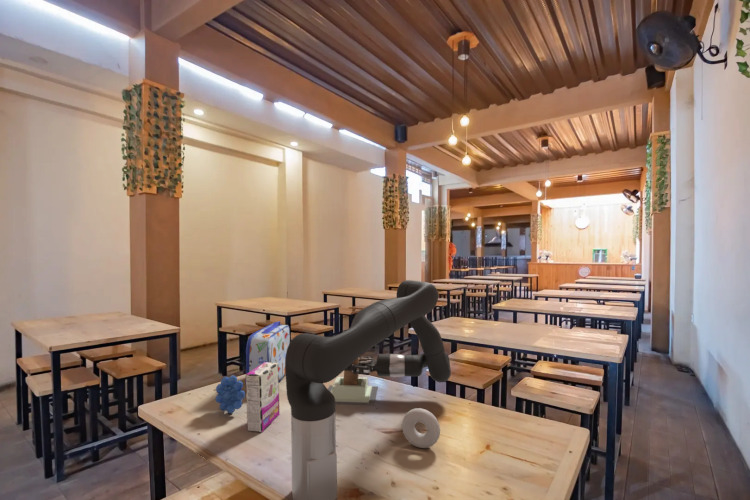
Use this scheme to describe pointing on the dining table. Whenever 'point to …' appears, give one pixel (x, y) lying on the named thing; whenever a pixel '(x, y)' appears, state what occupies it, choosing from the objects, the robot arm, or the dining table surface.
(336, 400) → the holder
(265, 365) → the candy bar box
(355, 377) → the walnut block
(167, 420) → the dining table surface
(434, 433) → the donut
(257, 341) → the lunch box
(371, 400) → the mat
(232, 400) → the grapes
